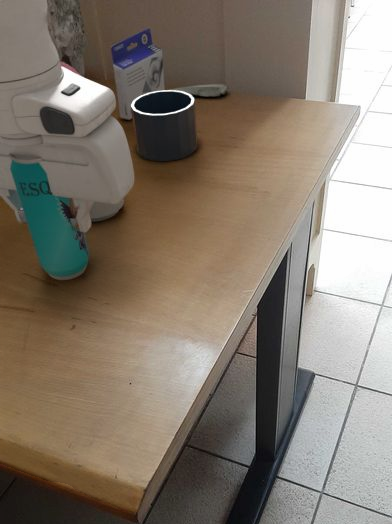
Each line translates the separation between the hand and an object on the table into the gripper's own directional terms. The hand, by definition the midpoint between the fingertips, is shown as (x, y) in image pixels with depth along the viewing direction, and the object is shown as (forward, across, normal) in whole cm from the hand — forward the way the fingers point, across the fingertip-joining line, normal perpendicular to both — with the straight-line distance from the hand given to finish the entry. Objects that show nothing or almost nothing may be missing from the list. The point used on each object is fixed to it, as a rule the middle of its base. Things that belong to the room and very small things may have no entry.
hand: (55, 224), depth 64 cm
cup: (+6, -1, +33) cm, 33 cm away
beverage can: (+6, 0, 0) cm, 6 cm away
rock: (+7, -32, +50) cm, 60 cm away
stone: (+6, -4, +52) cm, 53 cm away
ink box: (+6, -11, +46) cm, 48 cm away
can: (+6, -3, +13) cm, 15 cm away
